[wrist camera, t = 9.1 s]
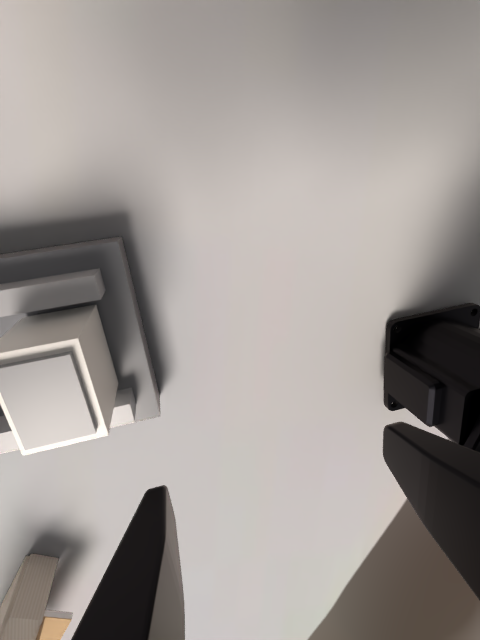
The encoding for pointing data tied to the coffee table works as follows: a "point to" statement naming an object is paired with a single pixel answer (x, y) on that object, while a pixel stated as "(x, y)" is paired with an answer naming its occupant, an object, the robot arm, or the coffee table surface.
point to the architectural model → (32, 603)
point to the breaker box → (78, 291)
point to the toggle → (57, 379)
